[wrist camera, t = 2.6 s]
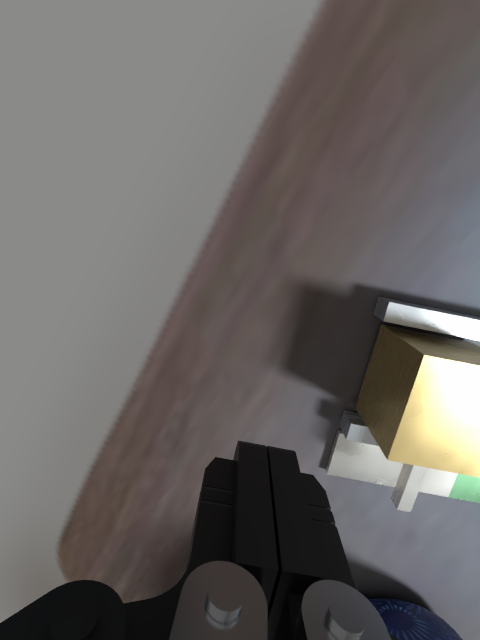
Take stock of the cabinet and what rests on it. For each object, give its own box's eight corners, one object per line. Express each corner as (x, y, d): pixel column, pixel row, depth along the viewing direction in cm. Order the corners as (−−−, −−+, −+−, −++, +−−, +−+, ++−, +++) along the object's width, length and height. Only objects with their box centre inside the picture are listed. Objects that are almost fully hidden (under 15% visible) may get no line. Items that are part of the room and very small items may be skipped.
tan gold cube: (381, 324, 19) (424, 354, 14) (470, 342, 19) (542, 378, 15) (338, 459, 21) (364, 524, 17) (420, 474, 21) (468, 543, 17)
